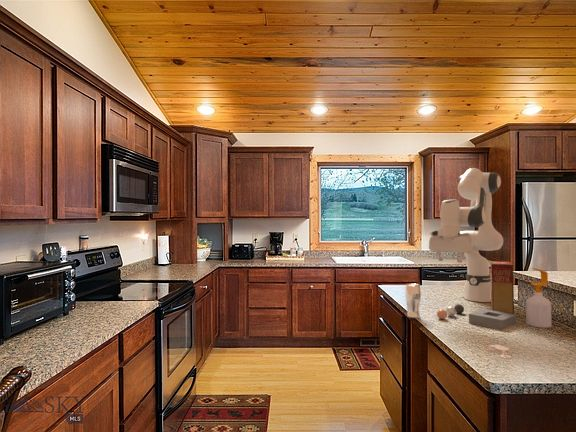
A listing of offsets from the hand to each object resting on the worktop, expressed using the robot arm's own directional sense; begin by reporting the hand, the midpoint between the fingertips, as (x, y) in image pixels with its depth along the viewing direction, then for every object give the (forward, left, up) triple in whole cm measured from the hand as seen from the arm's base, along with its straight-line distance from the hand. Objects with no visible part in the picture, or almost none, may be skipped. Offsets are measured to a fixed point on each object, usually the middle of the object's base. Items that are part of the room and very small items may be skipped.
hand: (449, 261), depth 183 cm
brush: (+36, +37, -26) cm, 58 cm away
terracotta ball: (+10, +1, -26) cm, 28 cm away
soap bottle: (-12, +33, -26) cm, 44 cm away
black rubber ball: (-6, +1, -26) cm, 26 cm away
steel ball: (+2, +1, -26) cm, 26 cm away
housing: (0, +19, -26) cm, 32 cm away
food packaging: (-18, +16, -26) cm, 35 cm away
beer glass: (+16, -10, -26) cm, 32 cm away
